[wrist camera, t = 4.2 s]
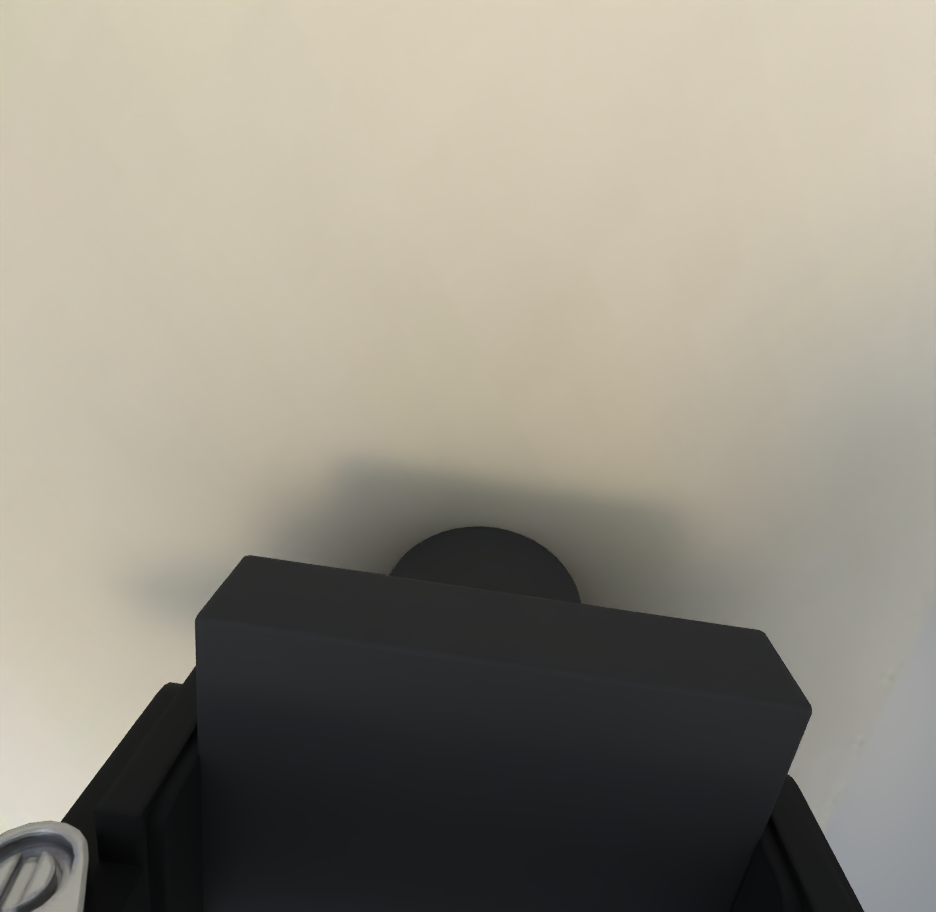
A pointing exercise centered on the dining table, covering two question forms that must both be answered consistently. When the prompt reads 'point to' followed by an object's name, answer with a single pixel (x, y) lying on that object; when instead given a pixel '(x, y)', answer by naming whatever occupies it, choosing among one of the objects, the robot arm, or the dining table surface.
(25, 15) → the dining table surface
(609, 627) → the black pad
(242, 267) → the dining table surface
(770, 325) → the dining table surface
